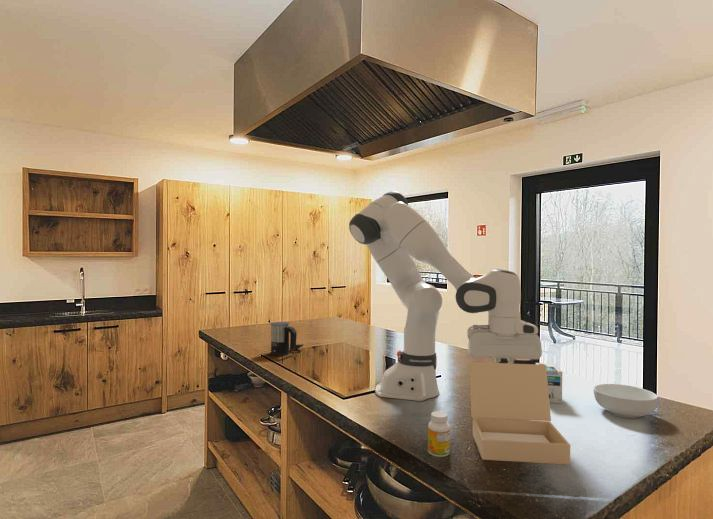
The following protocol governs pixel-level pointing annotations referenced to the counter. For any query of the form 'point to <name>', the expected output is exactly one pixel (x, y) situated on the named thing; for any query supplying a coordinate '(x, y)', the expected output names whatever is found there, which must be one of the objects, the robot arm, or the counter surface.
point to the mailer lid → (509, 391)
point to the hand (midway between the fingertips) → (503, 373)
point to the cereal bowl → (625, 400)
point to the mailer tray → (521, 450)
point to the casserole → (520, 361)
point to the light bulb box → (554, 382)
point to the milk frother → (283, 338)
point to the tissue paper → (514, 437)
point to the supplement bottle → (439, 434)
